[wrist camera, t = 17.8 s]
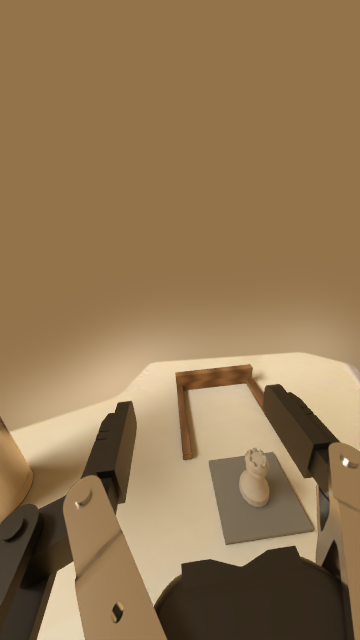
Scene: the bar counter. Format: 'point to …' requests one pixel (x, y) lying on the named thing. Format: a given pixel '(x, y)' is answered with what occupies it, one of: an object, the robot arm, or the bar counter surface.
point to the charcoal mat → (247, 519)
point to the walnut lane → (211, 380)
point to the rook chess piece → (255, 479)
